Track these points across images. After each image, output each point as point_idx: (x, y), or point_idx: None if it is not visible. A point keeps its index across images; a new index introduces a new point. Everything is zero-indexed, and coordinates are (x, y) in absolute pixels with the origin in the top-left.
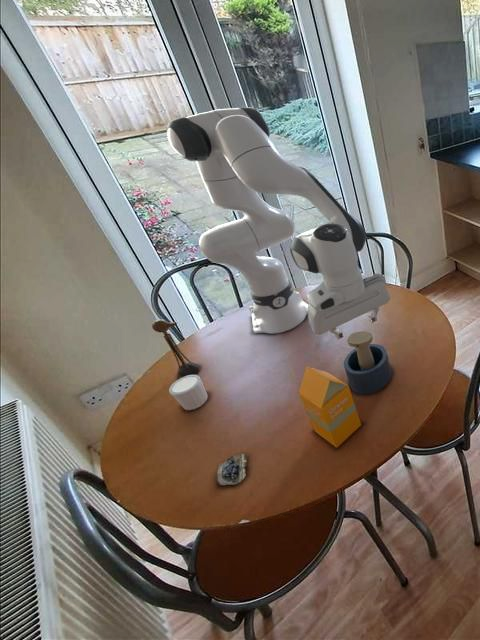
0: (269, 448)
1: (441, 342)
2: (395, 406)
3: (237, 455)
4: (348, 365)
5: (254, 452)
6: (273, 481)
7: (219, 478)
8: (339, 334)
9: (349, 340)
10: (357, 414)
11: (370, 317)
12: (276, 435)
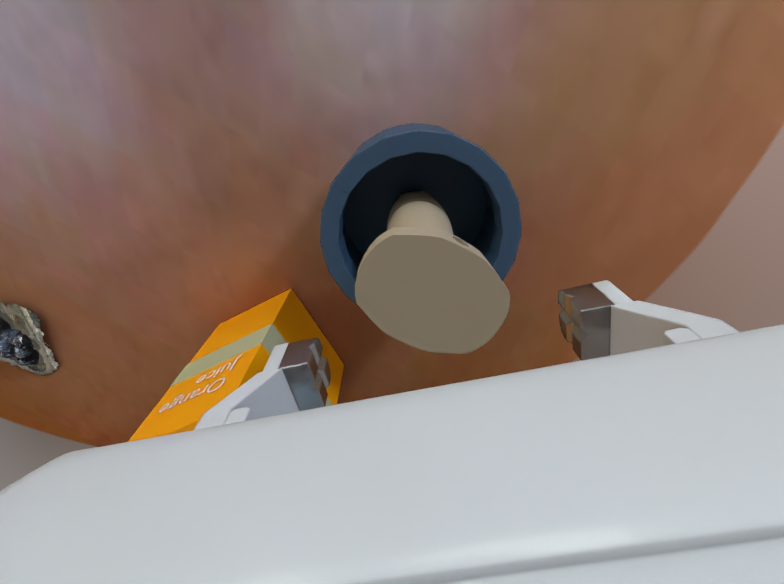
0: (98, 316)
1: (734, 161)
2: (446, 354)
3: (9, 305)
4: (340, 228)
5: (58, 308)
6: (133, 404)
7: None
8: (303, 407)
9: (367, 292)
10: (337, 395)
11: (583, 349)
12: (108, 283)
